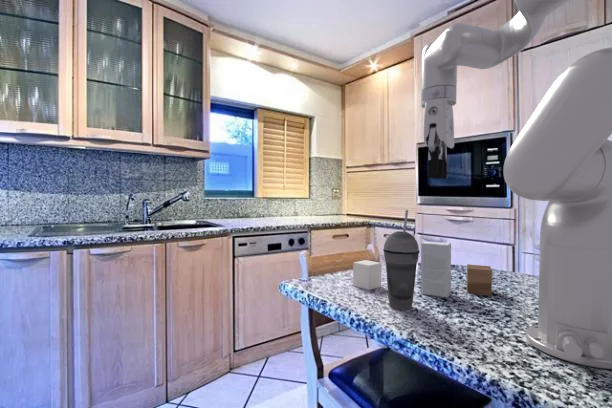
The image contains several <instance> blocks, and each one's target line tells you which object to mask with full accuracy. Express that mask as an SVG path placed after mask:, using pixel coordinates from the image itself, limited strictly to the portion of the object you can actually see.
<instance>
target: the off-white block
mask: <svg viewBox="0 0 612 408" xmlns="http://www.w3.org/2000/svg"><path fill="white" fill-rule="evenodd" d="M352 286H353V287H357V288H360V289H364V290H367V291H370V290H373V289H377V288H380V287H382V262H377V261H372V260H368V259H363V260H359V261H353V262H352Z"/></svg>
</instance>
